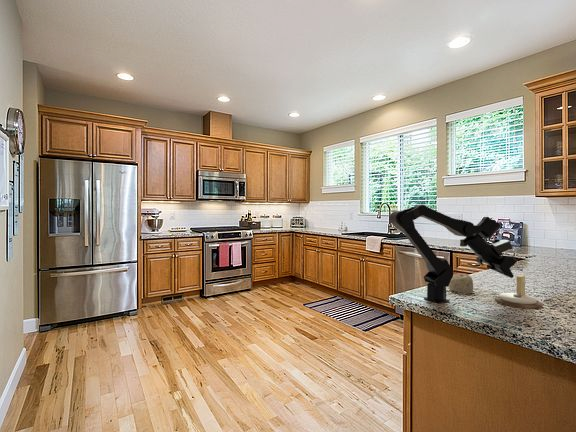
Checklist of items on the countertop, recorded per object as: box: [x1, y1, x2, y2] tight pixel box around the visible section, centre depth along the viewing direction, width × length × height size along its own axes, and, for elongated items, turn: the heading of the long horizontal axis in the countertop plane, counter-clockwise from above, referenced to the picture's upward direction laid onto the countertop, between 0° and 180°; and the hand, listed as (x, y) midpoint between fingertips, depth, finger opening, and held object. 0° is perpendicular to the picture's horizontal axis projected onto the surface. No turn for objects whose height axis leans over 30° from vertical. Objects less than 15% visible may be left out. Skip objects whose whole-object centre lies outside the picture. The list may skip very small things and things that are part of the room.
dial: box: [498, 274, 538, 304], centre depth 112 cm, size 11×12×8 cm
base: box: [494, 295, 543, 310], centre depth 112 cm, size 14×14×1 cm
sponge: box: [448, 273, 474, 294], centre depth 131 cm, size 9×10×10 cm
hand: (511, 276), depth 115 cm, fingers closed
